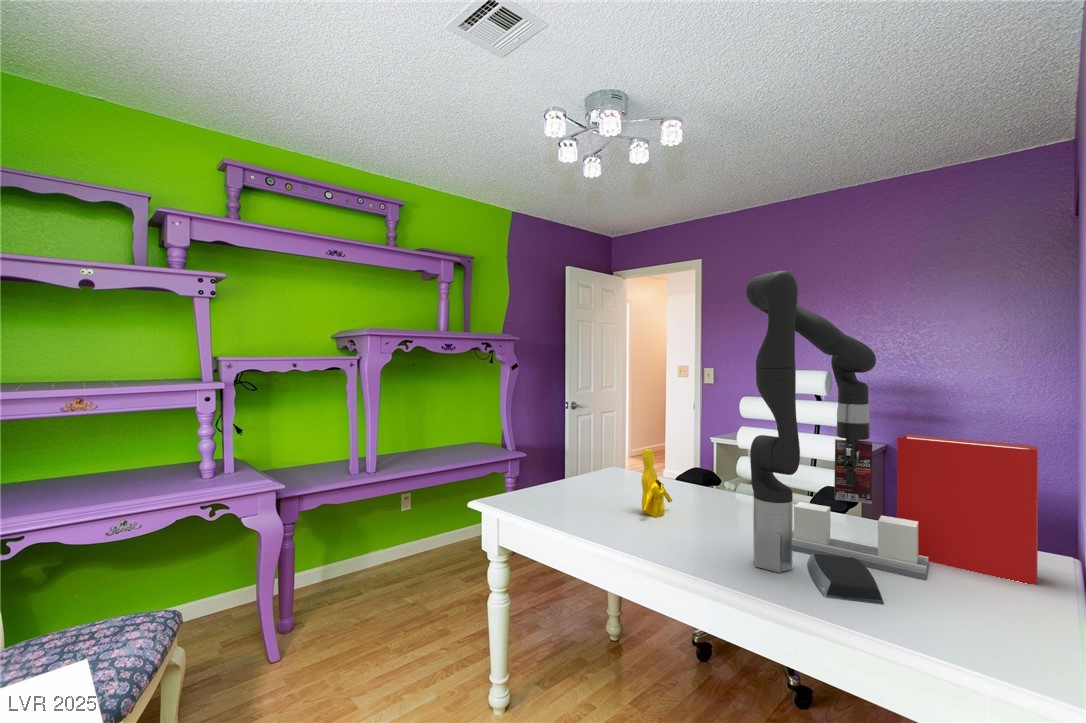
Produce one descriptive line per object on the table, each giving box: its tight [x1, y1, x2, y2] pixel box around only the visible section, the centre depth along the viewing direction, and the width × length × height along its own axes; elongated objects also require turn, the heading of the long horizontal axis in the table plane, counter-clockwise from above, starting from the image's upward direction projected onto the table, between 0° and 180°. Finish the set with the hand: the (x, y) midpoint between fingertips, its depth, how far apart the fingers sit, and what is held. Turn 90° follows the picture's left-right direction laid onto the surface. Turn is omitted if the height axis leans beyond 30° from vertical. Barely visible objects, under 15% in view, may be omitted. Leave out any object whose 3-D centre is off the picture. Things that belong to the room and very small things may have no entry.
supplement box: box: [833, 438, 873, 505], centre depth 137 cm, size 9×5×16 cm, turn 62°
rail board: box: [792, 501, 930, 581], centre depth 137 cm, size 12×32×12 cm, turn 50°
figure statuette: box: [641, 448, 673, 518], centre depth 174 cm, size 18×8×22 cm, turn 136°
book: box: [896, 433, 1039, 585], centre depth 131 cm, size 27×8×32 cm, turn 44°
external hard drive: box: [806, 553, 885, 605], centre depth 121 cm, size 13×19×4 cm
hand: (852, 482), depth 137 cm, fingers closed on supplement box, 5 cm apart
